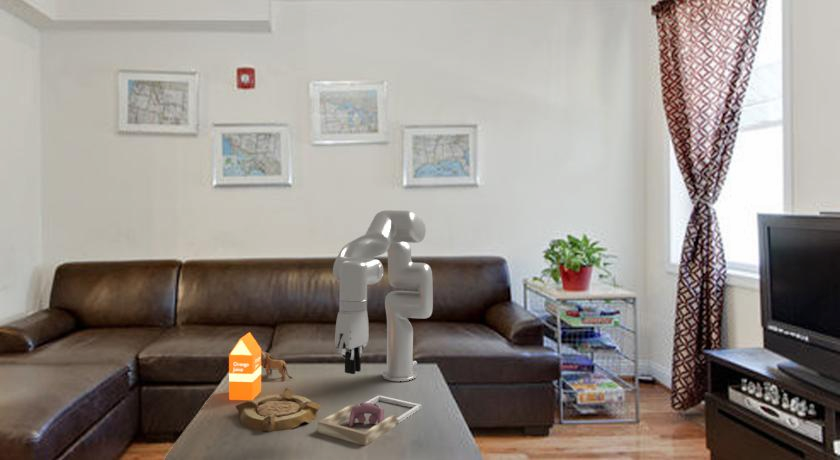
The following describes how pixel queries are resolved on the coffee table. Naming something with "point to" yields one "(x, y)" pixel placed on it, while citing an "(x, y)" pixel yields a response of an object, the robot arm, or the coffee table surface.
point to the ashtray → (277, 412)
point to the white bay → (395, 401)
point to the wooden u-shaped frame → (352, 435)
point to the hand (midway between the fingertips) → (352, 371)
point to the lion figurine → (273, 365)
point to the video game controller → (365, 408)
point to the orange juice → (245, 369)
